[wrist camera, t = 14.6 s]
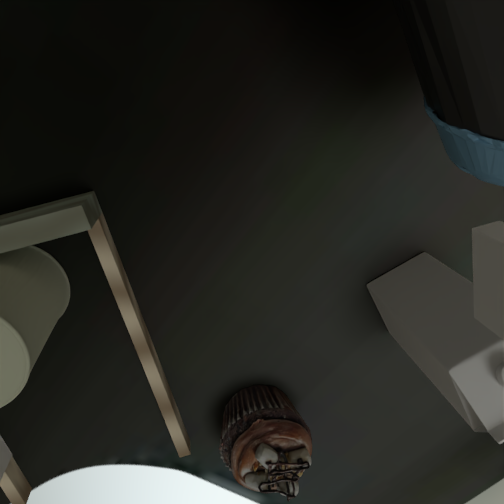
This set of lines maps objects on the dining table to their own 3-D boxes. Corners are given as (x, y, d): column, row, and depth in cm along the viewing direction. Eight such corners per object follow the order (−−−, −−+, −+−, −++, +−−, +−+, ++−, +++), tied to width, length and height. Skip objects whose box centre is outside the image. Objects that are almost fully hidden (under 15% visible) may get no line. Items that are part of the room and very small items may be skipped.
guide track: (-133, 249, 35) (-180, 273, 31) (93, 190, 37) (81, 205, 32) (21, 491, 47) (3, 535, 42) (190, 440, 48) (191, 477, 44)
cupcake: (219, 377, 46) (229, 450, 37) (304, 377, 48) (334, 446, 38) (211, 446, 49) (219, 528, 40) (291, 443, 51) (316, 521, 42)
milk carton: (444, 301, 47) (601, 426, 29) (388, 332, 47) (511, 474, 30) (423, 250, 44) (584, 355, 27) (364, 283, 44) (484, 409, 27)
